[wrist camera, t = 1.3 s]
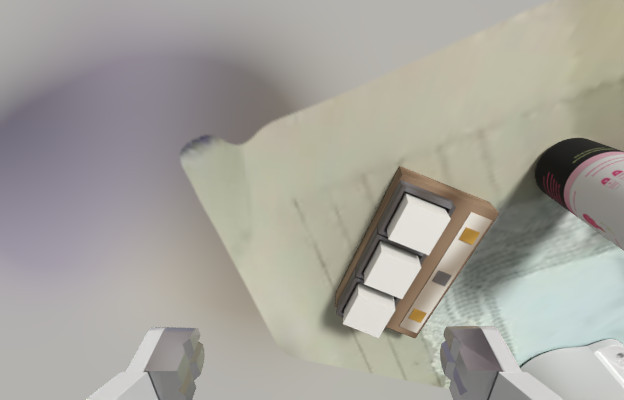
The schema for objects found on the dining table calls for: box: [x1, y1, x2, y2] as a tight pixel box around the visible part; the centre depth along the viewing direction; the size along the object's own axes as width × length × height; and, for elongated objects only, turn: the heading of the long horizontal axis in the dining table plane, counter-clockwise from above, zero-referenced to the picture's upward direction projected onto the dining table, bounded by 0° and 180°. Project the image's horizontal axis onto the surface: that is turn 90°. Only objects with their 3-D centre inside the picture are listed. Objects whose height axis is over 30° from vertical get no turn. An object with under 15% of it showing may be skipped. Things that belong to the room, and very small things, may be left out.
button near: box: [387, 193, 451, 255], centre depth 35 cm, size 4×4×2 cm
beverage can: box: [535, 138, 624, 250], centre depth 29 cm, size 7×6×15 cm
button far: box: [343, 282, 395, 338], centre depth 40 cm, size 4×4×2 cm
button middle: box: [364, 240, 421, 299], centre depth 37 cm, size 4×4×2 cm
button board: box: [335, 166, 499, 338], centre depth 40 cm, size 11×19×5 cm, turn 159°
